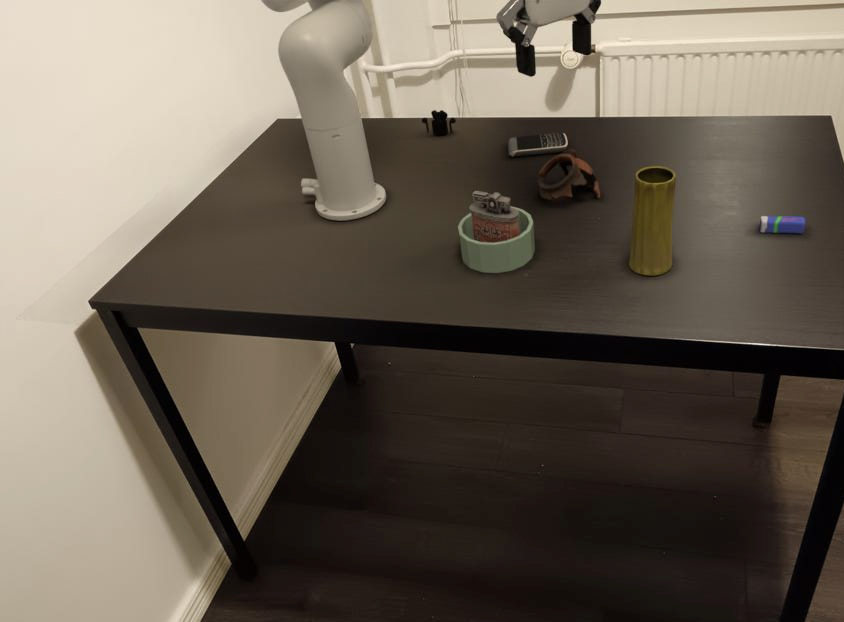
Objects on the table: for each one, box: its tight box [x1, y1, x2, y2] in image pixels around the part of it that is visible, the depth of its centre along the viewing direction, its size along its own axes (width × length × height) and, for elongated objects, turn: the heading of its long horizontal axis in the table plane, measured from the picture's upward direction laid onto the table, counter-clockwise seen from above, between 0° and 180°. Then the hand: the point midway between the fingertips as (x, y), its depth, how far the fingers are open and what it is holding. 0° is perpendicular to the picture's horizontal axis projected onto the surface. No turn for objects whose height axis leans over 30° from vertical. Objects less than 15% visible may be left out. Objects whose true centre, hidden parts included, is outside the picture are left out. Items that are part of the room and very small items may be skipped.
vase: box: [628, 165, 677, 277], centre depth 105 cm, size 6×6×14 cm
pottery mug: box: [537, 148, 601, 201], centre depth 126 cm, size 12×10×8 cm
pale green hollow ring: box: [457, 205, 536, 274], centre depth 115 cm, size 11×11×5 cm
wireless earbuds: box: [421, 109, 457, 136], centre depth 151 cm, size 7×2×5 cm, turn 75°
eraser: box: [759, 215, 806, 235], centre depth 112 cm, size 2×6×2 cm, turn 74°
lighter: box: [468, 190, 519, 243], centre depth 113 cm, size 8×3×10 cm, turn 58°
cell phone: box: [507, 132, 569, 158], centre depth 142 cm, size 6×11×1 cm, turn 89°
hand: (554, 63), depth 102 cm, fingers open, 9 cm apart
